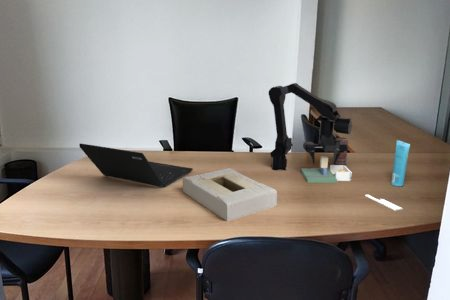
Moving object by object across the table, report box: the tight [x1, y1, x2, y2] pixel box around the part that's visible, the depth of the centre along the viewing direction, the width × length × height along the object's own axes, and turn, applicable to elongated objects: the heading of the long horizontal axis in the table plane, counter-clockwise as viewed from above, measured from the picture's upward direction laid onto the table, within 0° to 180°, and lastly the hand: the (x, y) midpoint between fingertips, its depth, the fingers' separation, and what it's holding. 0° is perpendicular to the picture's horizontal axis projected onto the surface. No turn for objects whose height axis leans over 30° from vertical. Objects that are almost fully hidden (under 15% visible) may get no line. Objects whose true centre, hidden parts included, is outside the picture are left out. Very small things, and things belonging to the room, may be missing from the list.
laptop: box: [79, 142, 194, 188], centre depth 170 cm, size 33×38×19 cm
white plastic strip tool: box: [364, 194, 404, 211], centre depth 150 cm, size 5×15×1 cm, turn 25°
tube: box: [391, 139, 411, 187], centre depth 165 cm, size 7×5×19 cm, turn 26°
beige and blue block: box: [319, 155, 329, 175], centre depth 175 cm, size 3×7×8 cm, turn 1°
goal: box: [329, 164, 353, 182], centre depth 176 cm, size 7×10×4 cm
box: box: [182, 167, 278, 222], centre depth 151 cm, size 23×8×32 cm
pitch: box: [300, 167, 338, 184], centre depth 176 cm, size 13×15×2 cm
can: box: [334, 137, 350, 166], centre depth 190 cm, size 6×6×14 cm
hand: (323, 164), depth 175 cm, fingers open, 9 cm apart
